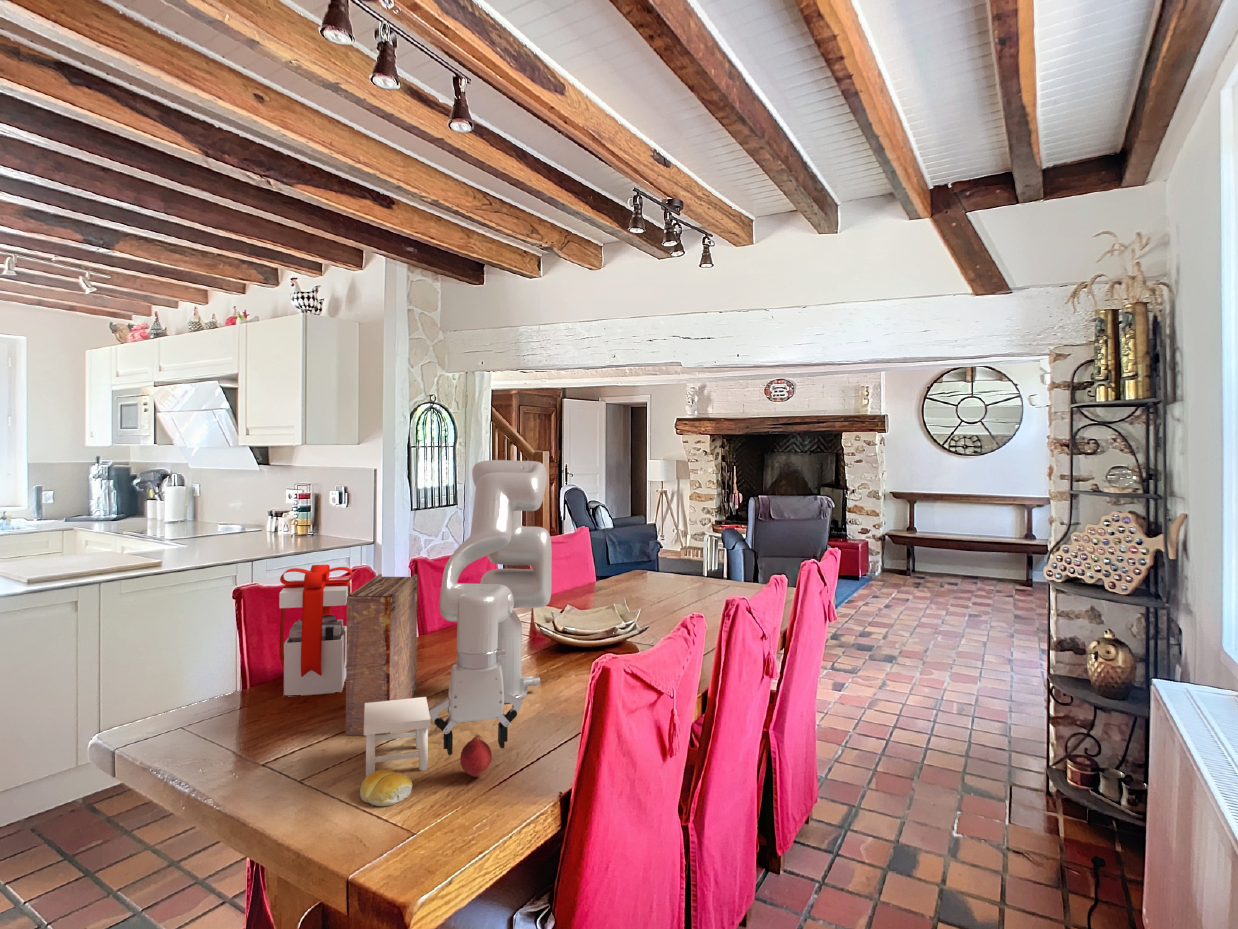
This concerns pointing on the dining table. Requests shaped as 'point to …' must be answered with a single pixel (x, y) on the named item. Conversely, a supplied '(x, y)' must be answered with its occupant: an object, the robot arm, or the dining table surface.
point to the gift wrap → (314, 632)
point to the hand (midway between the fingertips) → (475, 748)
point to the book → (380, 645)
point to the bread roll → (385, 788)
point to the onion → (475, 756)
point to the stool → (396, 728)
